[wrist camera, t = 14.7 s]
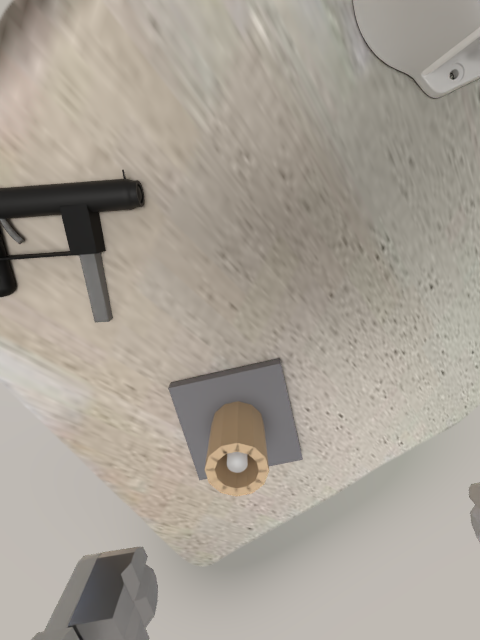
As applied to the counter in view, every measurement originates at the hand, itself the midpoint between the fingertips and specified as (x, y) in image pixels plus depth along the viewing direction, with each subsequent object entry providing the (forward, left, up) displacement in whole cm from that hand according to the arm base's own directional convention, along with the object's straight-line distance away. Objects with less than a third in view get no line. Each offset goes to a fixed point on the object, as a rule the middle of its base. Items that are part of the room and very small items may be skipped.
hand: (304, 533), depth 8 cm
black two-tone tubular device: (+20, -9, -32) cm, 39 cm away
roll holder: (+6, +16, -31) cm, 35 cm away
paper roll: (+6, +16, -30) cm, 34 cm away
